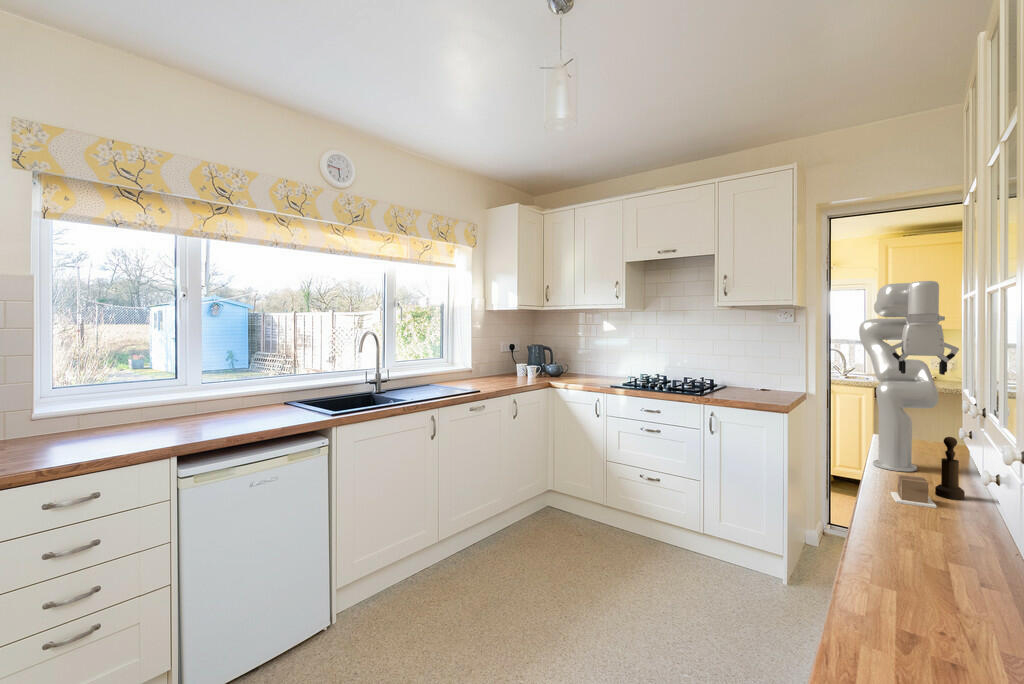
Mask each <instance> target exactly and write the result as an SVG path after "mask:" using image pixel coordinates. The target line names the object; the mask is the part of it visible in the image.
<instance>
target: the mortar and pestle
mask: <svg viewBox="0 0 1024 684" xmlns="http://www.w3.org/2000/svg"><path fill="white" fill-rule="evenodd" d="M943 443H944V445H945V447H946V450H944V453H945V454H944V455H945V456H946V457H943V458H941V467H940V468H941V469H940V470H941V473H940V475H941V482H940V484H938V485H936V486H935V488H934V490H935V491H934V494H935V495H936V496H938V497H941V498H944V499H949V500H960V501H963V500H964V499H965V497H966V495H965V490H964V489H963V488H961V487H960V486H959V485H960V484H959V480H960V479H959V469H960V468H959V467H960V460H957V459H954V458H955V457H956V452H955V450H954V448H955V447H956V446H957V445H958V441H957V439H956V438H955V437H953V436H946V437H944V439H943Z"/></svg>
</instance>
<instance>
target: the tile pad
mask: <svg viewBox="0 0 1024 684" xmlns="http://www.w3.org/2000/svg"><path fill="white" fill-rule="evenodd" d="M890 495H891V496H892V498H893V500H894V501H895V503H897V504H901V505H902V504H904V505H910V506H917V507H926V508H934V509H937V508H938V506H937V505H936V503H935V502H934V501H933V500H932V499H931V498H930V497H929V496H928V503H921V502H913V501H906V500H901V498H900V497H899V495H898V491H897V492H895V491H890Z"/></svg>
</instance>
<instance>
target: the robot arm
mask: <svg viewBox="0 0 1024 684" xmlns="http://www.w3.org/2000/svg"><path fill="white" fill-rule="evenodd" d="M939 306H940V284H939V283H938V281H935V280H920V281H912V282H903V283H901V282H899V283H889V284H885V285H883V286H882V287H879V289H878V291H877V295H876V300H875V303H874V304H873V310H874V312H875V313H876V314H877V315H878V316H880V317H882V318H871V319H867V320H864V321H862V322H861V324H860V326H859V329H858V331H859V332H858V334H859V339H860V343H861V345H862V346H863V348H864V350H865V351H866V352H867V354H868V355H869V358H870V361H871V364H872V368H873V371H874V375H875V377H876V379H877V381H878V382H880V383H879V384H877V386H876V388H875V389H876V390H875V393H876V394H875V395H876V400H877V407H878V408H877V409H878V458H877V459H875V460H873V462H872V464H873V466H875V467H877V468H880V469H883V470H887V471H888V470H889V471H896V472H906V473H907V472H908V473H909V472H916V471H918V466H917V465H915V464H913V463H912V462H913V461H912V459H913V457H912V453H913V452H912V451H913V450H912V448H913V447H912V446H913V445H912V444H913V443H912V442H913V441H912V440H913V439H912V437H913V421H912V418H911V416H910V415H909V414H908V413H907V412H906V411H905V410H904V409H932V408H934V407H936V406H937V405H938V404H939V397H940V396H939V392H938V389H937V386H936V384H935V380H934V377H933V375H932V373H931V371H930V368H929V366H928V364H927V363H926V362H924V361H923V360H920V359H907V357H908V356H912V357H913V356H914V357H915V356H917V357H918V356H919V357H922V356H923V357H924V356H927V357H929V356H930V357H937V358H938V359H939V360H940V361H939V365H938V366H939V367H938V373H939V375H940V376H945V374H946V373H948V363H949V361H951V360H952V359H953V358H955V357H956V355H957V353H958V352H959V351H960V348H959V347H957V346H954V345H953V344H949V343H947V342H945V338H944V337H945V336H944V330H943V326H942V323H941V324H940V322H941V321H943V322H944V321H946V320H945V319H946V318H945V316H942V315H940V312H939V311H940V309H939ZM883 317H884V318H883ZM885 341H900V342H898V343H896V344H894V345H891V344H889V343H888V342H885ZM900 348H901V349H900ZM945 348H946V349H948V350H950V352H949V353H948V354H947V355H945ZM896 349H897V350H898V349H900V350H901V354H898V352H897V350H896Z"/></svg>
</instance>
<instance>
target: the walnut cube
mask: <svg viewBox="0 0 1024 684" xmlns="http://www.w3.org/2000/svg"><path fill="white" fill-rule="evenodd" d="M897 493H898V495H899V497H900V498H901V500H906V501H913V502H921V503H928V497H929V481H927V479H926V478H925V477H923V476H918V475H917V476H915V475H908V474H899V473H898V474H897Z"/></svg>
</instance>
